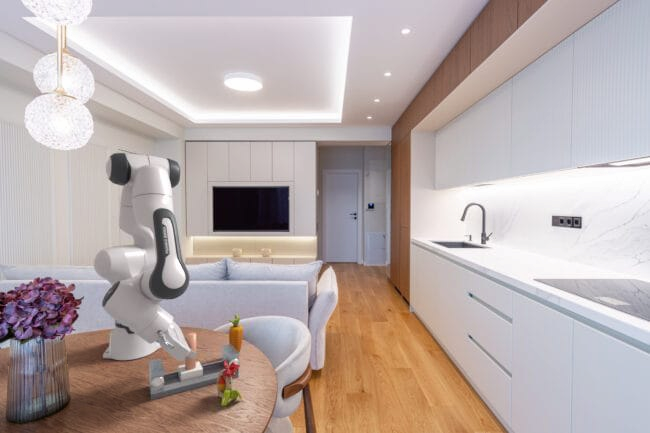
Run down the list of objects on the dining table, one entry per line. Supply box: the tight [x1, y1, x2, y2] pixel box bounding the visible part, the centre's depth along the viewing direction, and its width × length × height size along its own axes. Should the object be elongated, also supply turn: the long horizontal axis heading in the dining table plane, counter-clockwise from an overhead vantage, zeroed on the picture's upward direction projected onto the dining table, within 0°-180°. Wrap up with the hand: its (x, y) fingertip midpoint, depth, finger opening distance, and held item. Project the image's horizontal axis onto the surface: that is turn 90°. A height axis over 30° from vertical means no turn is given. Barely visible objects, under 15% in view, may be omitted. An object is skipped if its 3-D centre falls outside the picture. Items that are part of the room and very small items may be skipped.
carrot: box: [228, 314, 244, 354], centre depth 111 cm, size 5×5×15 cm
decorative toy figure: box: [216, 360, 243, 408], centre depth 87 cm, size 6×11×9 cm
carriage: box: [177, 332, 203, 382], centre depth 95 cm, size 6×6×13 cm
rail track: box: [148, 344, 240, 401], centre depth 95 cm, size 8×24×8 cm, turn 123°
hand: (193, 352), depth 95 cm, fingers closed on carriage, 3 cm apart
